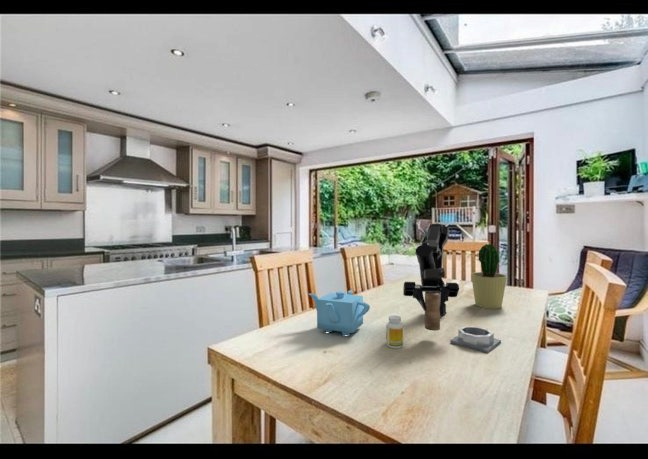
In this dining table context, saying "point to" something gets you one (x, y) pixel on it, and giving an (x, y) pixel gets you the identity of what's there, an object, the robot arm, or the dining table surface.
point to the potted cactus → (488, 280)
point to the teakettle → (340, 311)
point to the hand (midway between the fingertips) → (433, 310)
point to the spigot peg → (432, 311)
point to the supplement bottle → (394, 332)
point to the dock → (480, 348)
